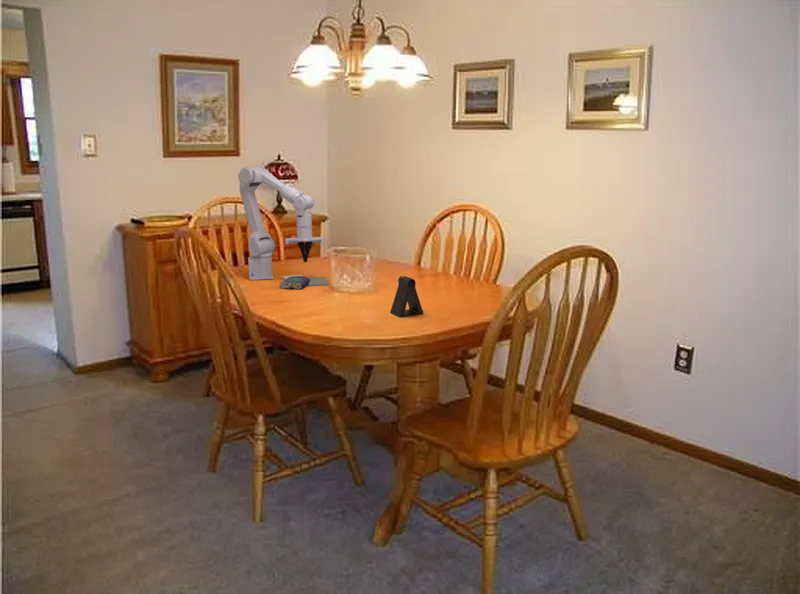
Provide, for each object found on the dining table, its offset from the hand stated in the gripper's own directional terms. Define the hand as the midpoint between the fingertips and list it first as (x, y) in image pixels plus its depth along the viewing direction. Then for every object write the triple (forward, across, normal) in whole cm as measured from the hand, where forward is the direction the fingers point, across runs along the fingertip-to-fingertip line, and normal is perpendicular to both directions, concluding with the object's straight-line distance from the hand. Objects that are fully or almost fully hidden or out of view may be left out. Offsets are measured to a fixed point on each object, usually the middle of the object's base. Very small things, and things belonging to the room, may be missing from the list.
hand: (305, 261), depth 265 cm
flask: (+7, -3, -1) cm, 7 cm away
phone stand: (+9, +28, -53) cm, 61 cm away
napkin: (+8, -4, +10) cm, 14 cm away
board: (+8, +4, +1) cm, 10 cm away
